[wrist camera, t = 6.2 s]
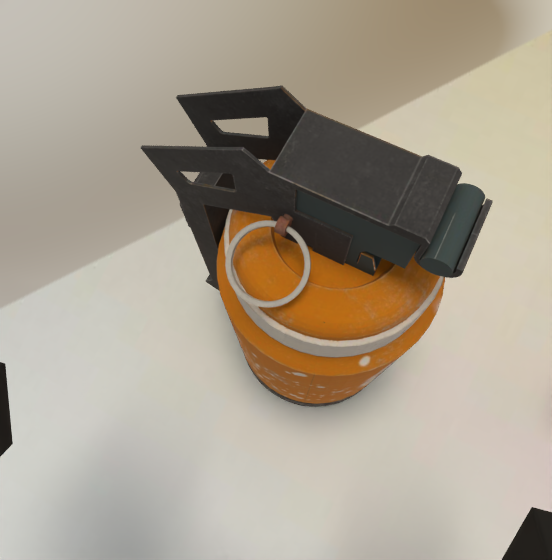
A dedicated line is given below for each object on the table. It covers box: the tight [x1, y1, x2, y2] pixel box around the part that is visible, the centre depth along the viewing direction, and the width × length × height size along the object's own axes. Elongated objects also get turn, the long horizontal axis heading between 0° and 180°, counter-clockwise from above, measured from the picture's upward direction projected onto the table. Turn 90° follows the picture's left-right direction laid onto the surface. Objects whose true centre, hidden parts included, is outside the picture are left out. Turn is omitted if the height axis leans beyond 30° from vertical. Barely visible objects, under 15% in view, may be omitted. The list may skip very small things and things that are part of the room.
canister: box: [141, 86, 492, 406], centre depth 22 cm, size 9×11×20 cm
